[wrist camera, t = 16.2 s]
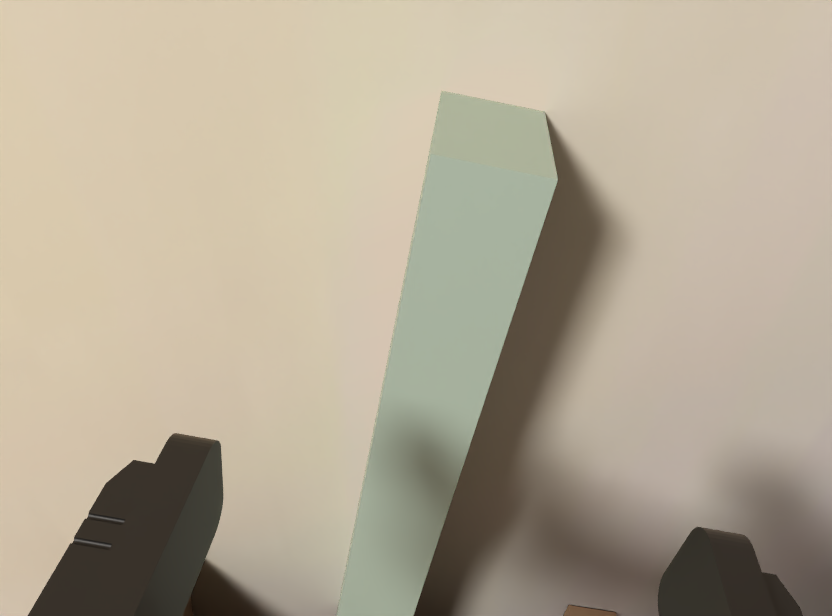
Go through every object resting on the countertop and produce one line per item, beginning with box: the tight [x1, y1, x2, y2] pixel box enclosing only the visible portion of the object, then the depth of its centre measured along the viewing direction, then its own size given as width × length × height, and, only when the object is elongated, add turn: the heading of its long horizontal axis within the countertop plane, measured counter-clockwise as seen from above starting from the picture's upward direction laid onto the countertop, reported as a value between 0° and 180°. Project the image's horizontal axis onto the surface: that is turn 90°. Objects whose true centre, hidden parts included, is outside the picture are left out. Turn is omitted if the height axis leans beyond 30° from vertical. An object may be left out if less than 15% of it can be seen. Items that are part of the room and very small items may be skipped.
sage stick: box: [336, 91, 558, 616], centre depth 21 cm, size 23×2×4 cm, turn 170°
